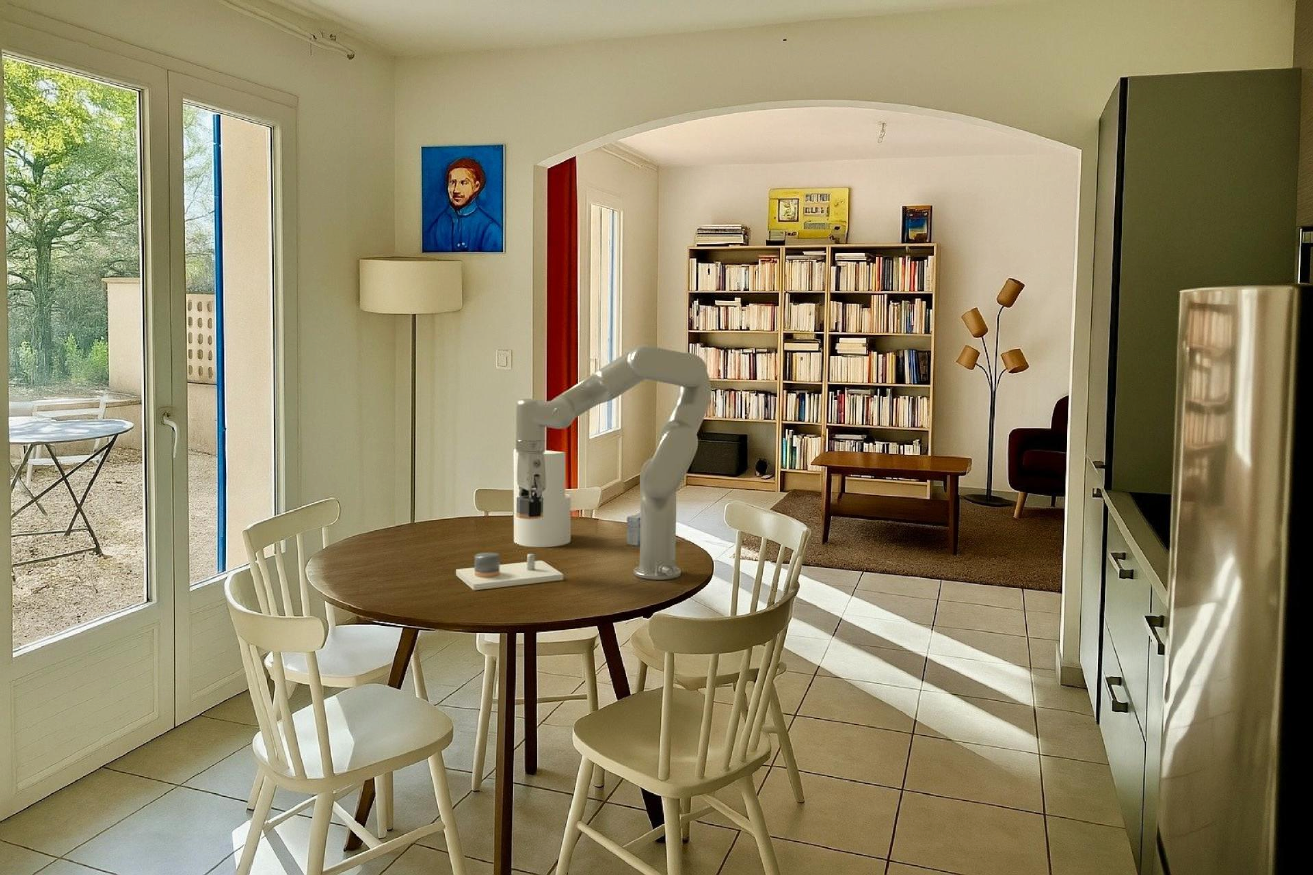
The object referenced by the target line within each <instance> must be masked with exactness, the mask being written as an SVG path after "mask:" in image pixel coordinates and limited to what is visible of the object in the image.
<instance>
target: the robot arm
mask: <svg viewBox="0 0 1313 875" xmlns="http://www.w3.org/2000/svg"><path fill="white" fill-rule="evenodd" d="M707 369H708V368H707V364H706V362H705V361H704V359H702V357H701V356H699V355H697V354H694V353H691V352H681V351H676V350H671V349H666V348H661V347H657V346H653V345H650V344H647V343H646V344H645V343H644V344H640V345H637V346H635V347H633V348H632V349H630V350H629V351H627V352H626V353H624V354H622V355H621V356H619V357H617V358H616V359H614V360H612V361H611V362H609V363H607V364H606V365H605V366H603V367H601V368H599V369H598V370H596V371H594V372H593V373H592V374H591V375H589V376H588V377H587V378H585V379H584V380H582V381H580V382H578V383H576V384H575V385H573V386H572V387H571V388H569V389H568V390H566V391H563V392H562V393H561V394H559V395H557V396H556V397H554V398H553V399H552V400H548V401H544V400H543V399H538V398H522V399H519V400H518V401H517V402H516V406H515V407H516V410H515V416H516V418H515V419H516V421H515V422H516V423H515V424H516V425H515V429H516V430H515V434H516V435H515V436H516V437H515V438H516V439H515V449H516V452H517V453H518V463H517V483H518V485H519V489H520V491H519V496H530V502H529V517H538V516H541V496H542V492H543V490H545V489H546V471H545V458H544V452H545V450H546V428H552V429H557V430H560V429H566V428H568V427H570V425H571V424H572V423H573V421H574V420H575V419H576V418H578V417H579V416H581V415H582V414H584V413H585V412H587V411H590V410H591V409H593V408H595V407H596V406H598V405H601V404H604V403H607V402H610V401H612V400H614V399H616V398H618V397H619V396H621V395H623V394H624V393H625V392H627V391H629V390H631V389H632V388H634V387H635V386H637V385H639V384H640V383H641V382H643V381H645V380H649V381H653V382H660V383H663V384H668V385H675V386H678V395H677V398H676V400H675V403H674V404H673V407H672V409H671V412H670V414H669V416H668V418H667V420H666V422H665V423H664V425H663V426H662V429H661V431H660V432H659V438H658V439H659V440H658V441H659V443H658V445H657V448H656V449H655V452H654V454H653V456H652V457H650V458H649V459H647V460H646V461H645V462H644V463H643V465H642V467H641V469H640V475H639V486H640V488H639V489H640V490H639V492H640V493H639V494H640V513H639V514H640V546H639V566H636V567H635V568H634V569H633V574H634V576H636V577H637V578H642V579H646V580H653V581H654V580H655V581H656V580H658V581H659V580H671V579H675V578H678V577H680V576H681V574H682V570H681V569H680V568H679V567H677V566H676V545H677V544H676V543H677V539H676V538H677V537H676V536H677V535H676V534H677V491H678V489H679V488H680V486H681V484H682V482H683V480H684V478H685V476H686V474H687V473H688V470H689V468H690V467H691V464H692V462H693V460H694V458H695V456H696V453H697V450H698V444H699V438H698V435H697V434H698V432H699V430H700V427H701V425H702V423H703V421H704V418H705V416H706V414H707V412H708V409H709V406H710V404H711V399H712V398H711V397H712V384H711V379H710V376H709V374H708V370H707ZM532 488H536V489H532ZM531 489H532V490H531ZM535 492H536V493H535ZM533 493H534V495H533Z"/></svg>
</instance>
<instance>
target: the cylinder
mask: <svg viewBox="0 0 1313 875" xmlns="http://www.w3.org/2000/svg"><path fill="white" fill-rule="evenodd" d="M544 458H545V471H546V489H545V490H543V492H542V496H541V497H542V498H543V517H541V518H539V519H522V518H518V517H517V516H516V514H517V497H520V496H519V491H520V489H519V485H518V483H517V463H518V453H517V452H516V448H514V449H513V543H514V544H516V543H517V544H516V545H518V544H519V546H522V547H523V546H524V547H531V548H551V547H560V546H563V545H567V544H569V543H570V542H571V532H572V531H571V530H572V529H571V528H572V527H571V526H572V525H571V521H572V520H571V517H572V515H571V512H572V511H571V510H572V509H571V508H572V506H571V504H572V502H571V500H572V497H571V494H569V493H567V492H566V452H564V451H558V450H557V451H554V450H546V449H545V452H544ZM532 489H536V488H532ZM532 489H531V490H532ZM535 493H536V492H535ZM533 495H534V493H533Z"/></svg>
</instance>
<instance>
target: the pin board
mask: <svg viewBox="0 0 1313 875" xmlns="http://www.w3.org/2000/svg"><path fill="white" fill-rule="evenodd" d="M473 557H474V567H469V568H468V567H467V568H458V569H457V568H456V569H455V575H456V576H457V577H458V578H459V579H460V580H461V581H463V583H464V584H466V585H467V586H468V587H470V589H472V590H473V591H478V590H485V589H486V590H487V589H488V590H489V589H496V588H504V587H513V586H520V585H521V586H523V585H530V584H540V583H548V582H555V581H564V573H562V572H561V571H559V570H557V569H556V568H554V567H553V566H551V565H549V563H546V562H545V561H543V560H536V554H535V553H527V554H526V557H527V559H526V561H525V562H524V561H522V562H515V563H514V562H513V563H506V564H505V563H504V564H500V560H501V559H500V558H501V557H500V553H496V552H478V553H475V555H474V556H473Z"/></svg>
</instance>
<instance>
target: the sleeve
mask: <svg viewBox="0 0 1313 875" xmlns="http://www.w3.org/2000/svg"><path fill="white" fill-rule="evenodd" d="M529 502H530V496H520V497H517V514H516V516H517V517H518V518H522V519H539V518H541V517H543V498H542V497H541V516H538V517H529Z"/></svg>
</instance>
